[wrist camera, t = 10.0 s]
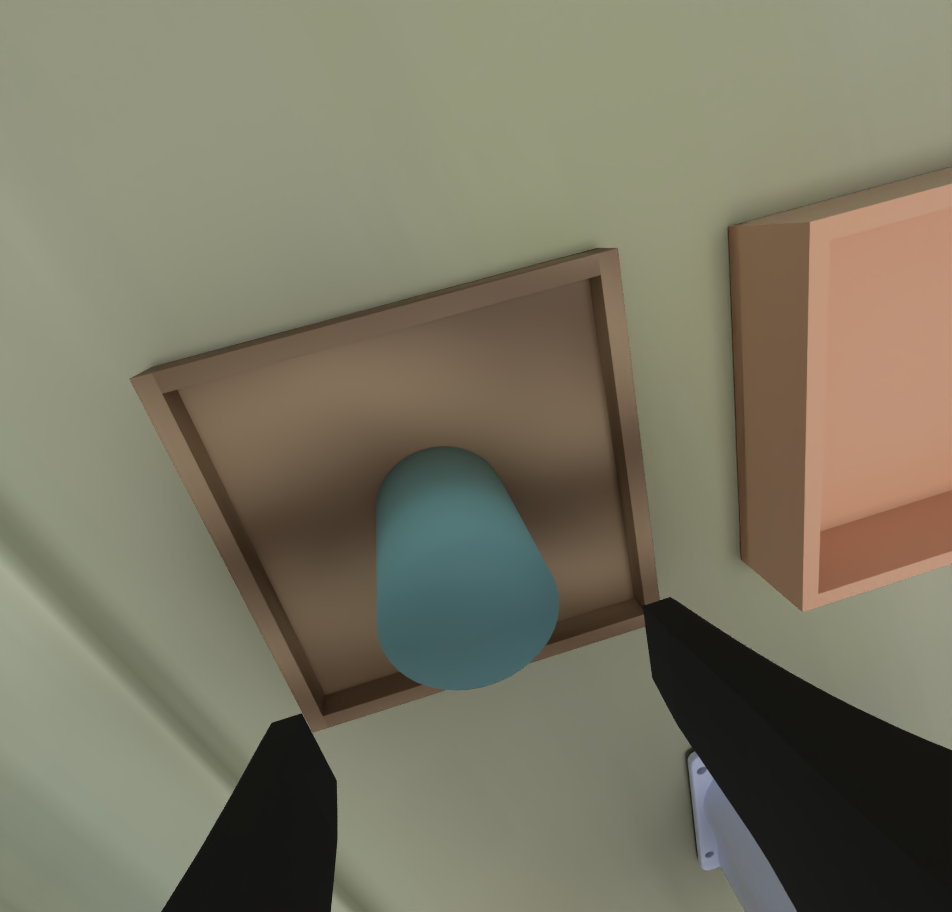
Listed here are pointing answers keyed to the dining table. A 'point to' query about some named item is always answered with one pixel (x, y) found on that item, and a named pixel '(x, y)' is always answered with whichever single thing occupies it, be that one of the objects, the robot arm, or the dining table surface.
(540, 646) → the teal cylinder
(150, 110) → the dining table surface
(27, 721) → the dining table surface
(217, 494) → the tray
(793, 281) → the pink storage bin
